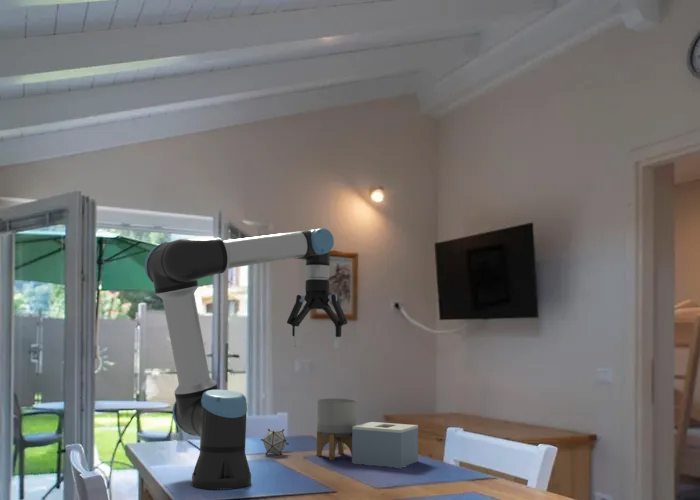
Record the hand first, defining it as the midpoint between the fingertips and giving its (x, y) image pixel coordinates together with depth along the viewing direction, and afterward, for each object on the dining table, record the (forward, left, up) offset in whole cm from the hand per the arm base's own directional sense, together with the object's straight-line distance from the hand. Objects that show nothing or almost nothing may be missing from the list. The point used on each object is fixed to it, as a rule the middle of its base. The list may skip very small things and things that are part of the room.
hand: (316, 347), depth 220 cm
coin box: (+11, -19, -35) cm, 41 cm away
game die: (+6, +18, -35) cm, 40 cm away
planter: (+13, -1, -35) cm, 37 cm away
